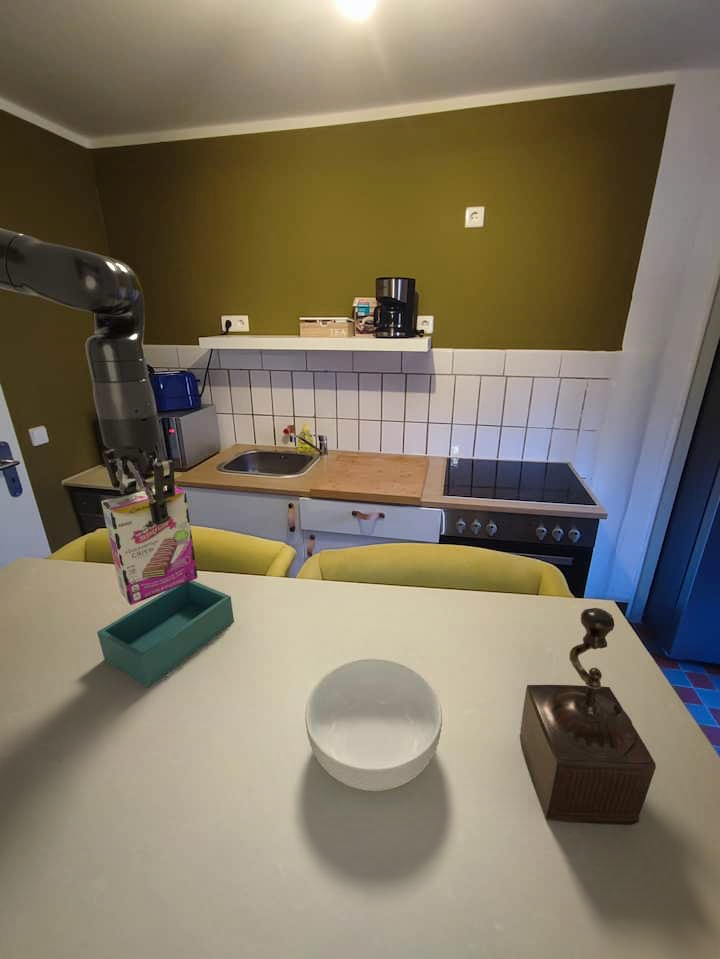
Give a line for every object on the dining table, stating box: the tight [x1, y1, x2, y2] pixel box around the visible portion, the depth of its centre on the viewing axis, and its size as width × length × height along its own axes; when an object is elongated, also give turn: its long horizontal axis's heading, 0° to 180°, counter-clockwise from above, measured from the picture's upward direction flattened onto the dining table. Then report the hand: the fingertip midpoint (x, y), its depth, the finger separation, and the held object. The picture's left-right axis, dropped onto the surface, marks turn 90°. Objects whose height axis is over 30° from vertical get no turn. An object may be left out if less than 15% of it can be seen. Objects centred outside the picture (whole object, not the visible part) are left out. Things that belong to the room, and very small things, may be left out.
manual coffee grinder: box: [519, 607, 657, 826], centre depth 51 cm, size 16×11×18 cm
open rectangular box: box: [96, 580, 235, 688], centre depth 74 cm, size 12×18×6 cm, turn 150°
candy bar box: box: [100, 484, 198, 606], centre depth 68 cm, size 11×5×16 cm, turn 135°
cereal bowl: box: [304, 657, 443, 792], centre depth 55 cm, size 17×17×7 cm
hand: (148, 518), depth 67 cm, fingers closed on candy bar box, 5 cm apart
